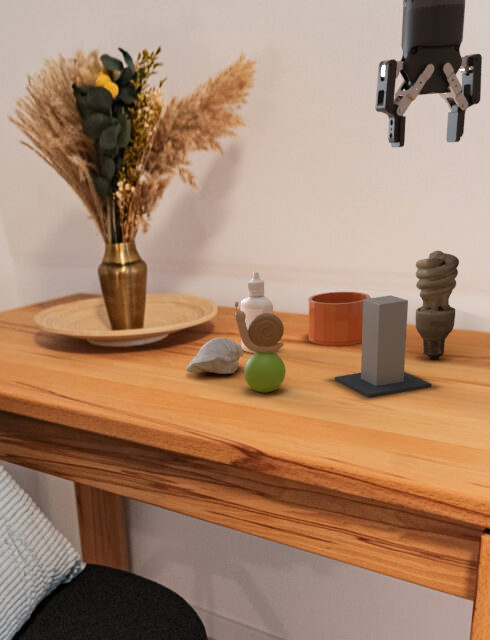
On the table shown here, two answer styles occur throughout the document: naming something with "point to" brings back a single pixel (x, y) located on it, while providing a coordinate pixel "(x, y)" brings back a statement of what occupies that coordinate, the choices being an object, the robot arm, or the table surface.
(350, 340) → the cup
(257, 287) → the eye dropper bottle
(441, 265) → the light bulb
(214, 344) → the pebble
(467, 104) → the robot arm
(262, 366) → the snail figurine
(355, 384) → the mat
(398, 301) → the block
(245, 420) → the table surface
